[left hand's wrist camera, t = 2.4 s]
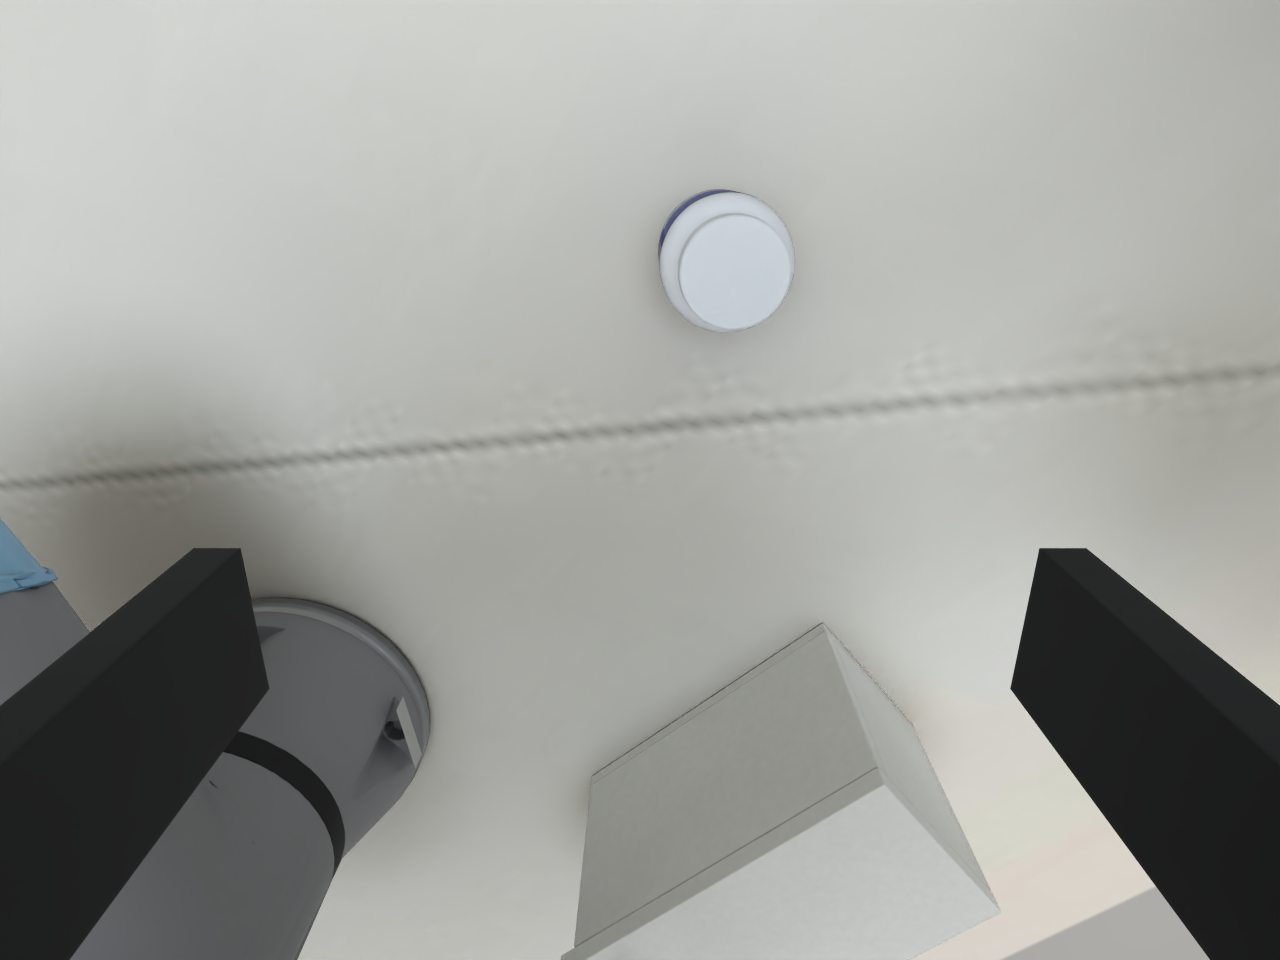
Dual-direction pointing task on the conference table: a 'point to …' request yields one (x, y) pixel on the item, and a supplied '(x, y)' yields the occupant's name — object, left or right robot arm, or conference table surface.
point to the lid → (814, 891)
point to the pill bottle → (725, 260)
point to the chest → (747, 776)
